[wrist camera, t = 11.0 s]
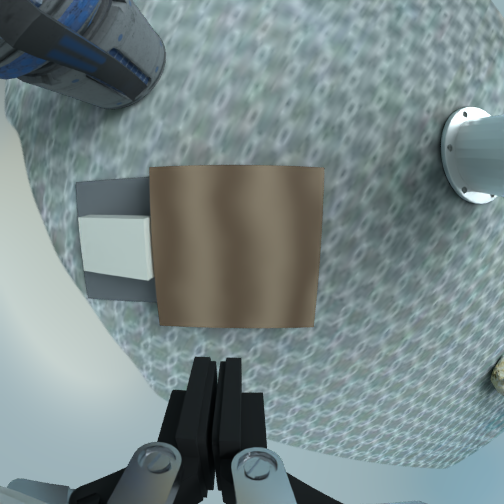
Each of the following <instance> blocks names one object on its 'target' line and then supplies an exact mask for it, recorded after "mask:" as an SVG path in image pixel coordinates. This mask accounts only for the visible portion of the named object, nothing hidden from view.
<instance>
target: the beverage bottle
mask: <svg viewBox="0 0 504 504" xmlns="http://www.w3.org/2000/svg"><path fill="white" fill-rule="evenodd" d="M165 62H166V52H165V46H164V44H163V42H162V40H161V38H160V37H159V35H158V34H157V33H156V32H155V31H154V30H153V28H152V27H151V25H150V24H149V23H148V21H147V20H146V18H145V17H144V16H143V14H142V13H141V12H140V10H139V9H138V7H137V6H136V5H135V3H134V2H133V1H132V0H0V79H12V78H18V79H20V80H22V81H23V82H26V83H29V84H32V85H36V86H39V87H42V88H45V89H48V90H51V91H55V92H58V93H61V94H64V95H67V96H70V97H72V98H75V99H78V100H81V101H84V102H87V103H90V104H92V105H95V106H98V107H101V108H105V109H119V108H124V107H127V106H130V105H132V104H134V103H136V102H137V101H139V100H141V99H142V98H143V97H144V96H146V95H147V94H148V93H149V92H150V91H151V90H152V89H153V88H154V86H155V85H156V83H157V82H158V81H159V79H160V77H161V75H162V73H163V70H164V66H165Z"/></svg>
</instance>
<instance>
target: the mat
mask: <svg viewBox="0 0 504 504" xmlns="http://www.w3.org/2000/svg"><path fill="white" fill-rule="evenodd" d="M76 193H77V210H78V217H82V216H86V215H139V216H151V213H150V177H144V178H127V179H112V180H99V181H87V182H77V183H76ZM78 223H79V222H78ZM79 234H80V233H79ZM80 244H81V243H80ZM81 252H82V251H81ZM82 260H83V259H82ZM83 268H84V267H83ZM84 275H85V281H86V287H87V293H88V298H93V299H108V300H125V301H144V302H157V296H156V286H155V277H153V278H151V279H150V280H148V281H147V280H141V279H134V278H127V277H121V276H114V275H108V274H101V273H95V272H89V271H84Z"/></svg>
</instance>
